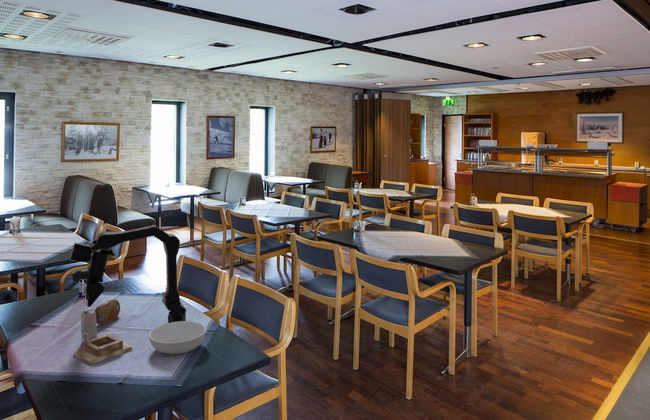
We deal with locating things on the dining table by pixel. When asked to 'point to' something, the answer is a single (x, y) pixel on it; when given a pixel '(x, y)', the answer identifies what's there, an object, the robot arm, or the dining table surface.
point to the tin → (107, 312)
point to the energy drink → (88, 325)
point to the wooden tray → (101, 349)
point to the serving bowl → (177, 337)
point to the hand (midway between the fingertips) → (88, 303)
